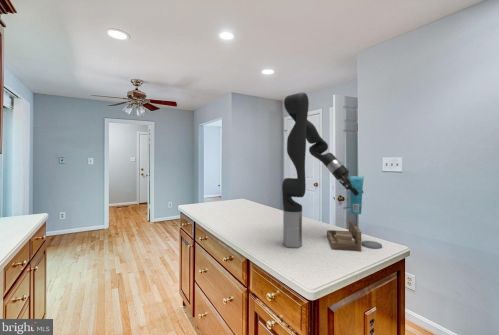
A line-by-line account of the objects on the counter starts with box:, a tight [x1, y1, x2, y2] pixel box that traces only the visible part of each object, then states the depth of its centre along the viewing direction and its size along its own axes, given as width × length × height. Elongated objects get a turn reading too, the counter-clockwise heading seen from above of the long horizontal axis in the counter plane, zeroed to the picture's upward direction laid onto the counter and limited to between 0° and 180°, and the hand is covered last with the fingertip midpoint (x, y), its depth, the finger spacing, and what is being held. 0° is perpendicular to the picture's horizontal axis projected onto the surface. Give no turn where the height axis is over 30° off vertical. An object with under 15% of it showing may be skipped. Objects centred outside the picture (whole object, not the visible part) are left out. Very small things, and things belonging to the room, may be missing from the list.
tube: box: [349, 175, 365, 215], centre depth 128 cm, size 7×5×19 cm, turn 97°
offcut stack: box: [334, 230, 355, 243], centre depth 124 cm, size 9×9×6 cm
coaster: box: [361, 240, 383, 250], centre depth 124 cm, size 9×9×1 cm
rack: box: [326, 219, 362, 252], centre depth 128 cm, size 22×13×9 cm, turn 169°
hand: (359, 194), depth 127 cm, fingers closed on tube, 5 cm apart
